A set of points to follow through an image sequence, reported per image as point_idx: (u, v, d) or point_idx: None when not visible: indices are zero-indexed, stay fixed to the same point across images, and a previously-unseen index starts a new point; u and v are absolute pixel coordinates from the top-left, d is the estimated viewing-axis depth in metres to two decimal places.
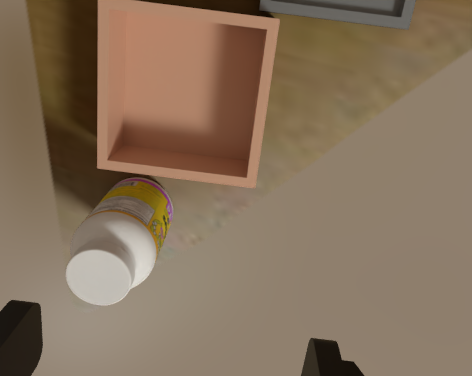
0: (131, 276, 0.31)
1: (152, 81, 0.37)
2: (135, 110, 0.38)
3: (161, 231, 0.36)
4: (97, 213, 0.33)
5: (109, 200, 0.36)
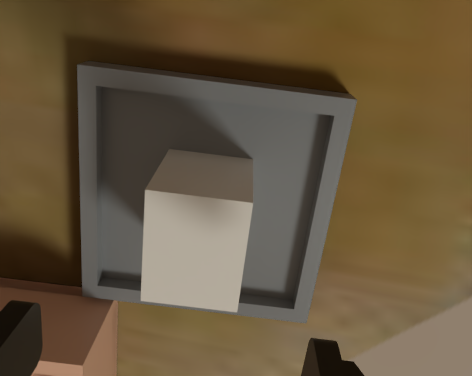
0: None
1: None
2: None
3: None
4: None
5: None
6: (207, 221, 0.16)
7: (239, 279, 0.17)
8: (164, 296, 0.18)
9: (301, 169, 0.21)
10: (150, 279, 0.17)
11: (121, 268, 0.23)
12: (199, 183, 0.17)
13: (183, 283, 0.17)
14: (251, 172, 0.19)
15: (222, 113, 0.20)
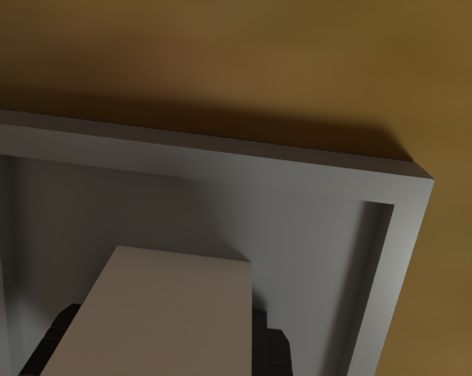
0: None
1: None
2: None
3: None
4: None
5: None
6: None
7: None
8: None
9: (333, 279, 0.13)
10: None
11: None
12: (154, 341, 0.09)
13: None
14: (249, 298, 0.11)
15: (206, 193, 0.12)
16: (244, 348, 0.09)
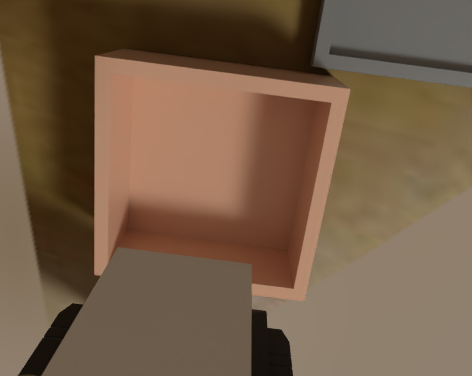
0: None
1: (167, 153, 0.28)
2: (144, 188, 0.29)
3: None
4: None
5: None
6: None
7: None
8: None
9: None
10: None
11: (346, 43, 0.26)
12: (153, 344, 0.09)
13: None
14: (248, 300, 0.11)
15: None
16: (244, 350, 0.09)
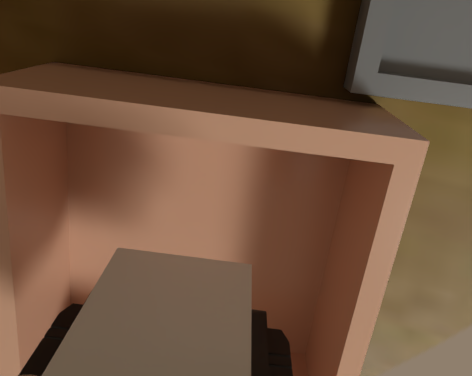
0: None
1: (123, 220, 0.19)
2: (91, 269, 0.20)
3: None
4: None
5: None
6: None
7: None
8: None
9: None
10: None
11: (404, 55, 0.16)
12: (153, 343, 0.09)
13: None
14: (248, 301, 0.11)
15: None
16: (244, 351, 0.09)
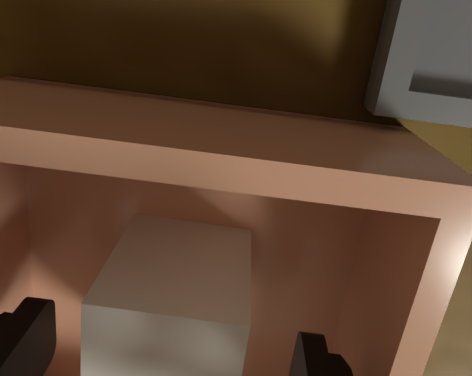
0: None
1: (96, 265, 0.16)
2: (60, 321, 0.17)
3: None
4: None
5: None
6: (179, 350, 0.11)
7: None
8: None
9: None
10: None
11: (440, 68, 0.13)
12: (170, 284, 0.11)
13: None
14: (248, 256, 0.13)
15: None
16: (244, 291, 0.11)
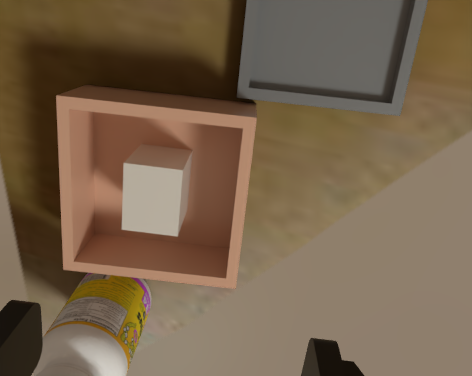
0: None
1: None
2: (106, 198, 0.35)
3: (134, 334, 0.33)
4: (61, 325, 0.30)
5: (77, 303, 0.33)
6: (158, 181, 0.29)
7: (177, 215, 0.30)
8: (135, 226, 0.31)
9: None
10: (127, 215, 0.30)
11: (263, 78, 0.32)
12: (155, 160, 0.30)
13: (146, 218, 0.30)
14: (188, 156, 0.32)
15: None
16: (183, 163, 0.30)
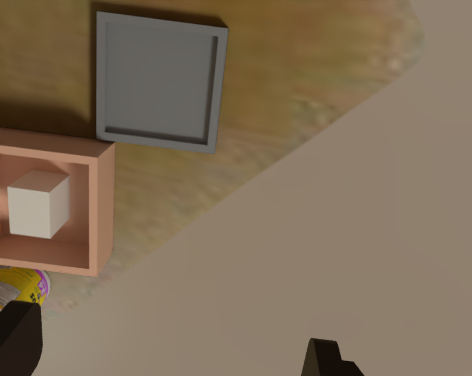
0: None
1: None
2: None
3: None
4: None
5: None
6: (32, 199, 0.42)
7: (48, 224, 0.42)
8: (19, 231, 0.43)
9: (206, 67, 0.41)
10: (13, 223, 0.43)
11: (117, 125, 0.44)
12: (33, 184, 0.42)
13: (26, 225, 0.43)
14: (62, 180, 0.44)
15: (166, 37, 0.41)
16: (53, 187, 0.42)
